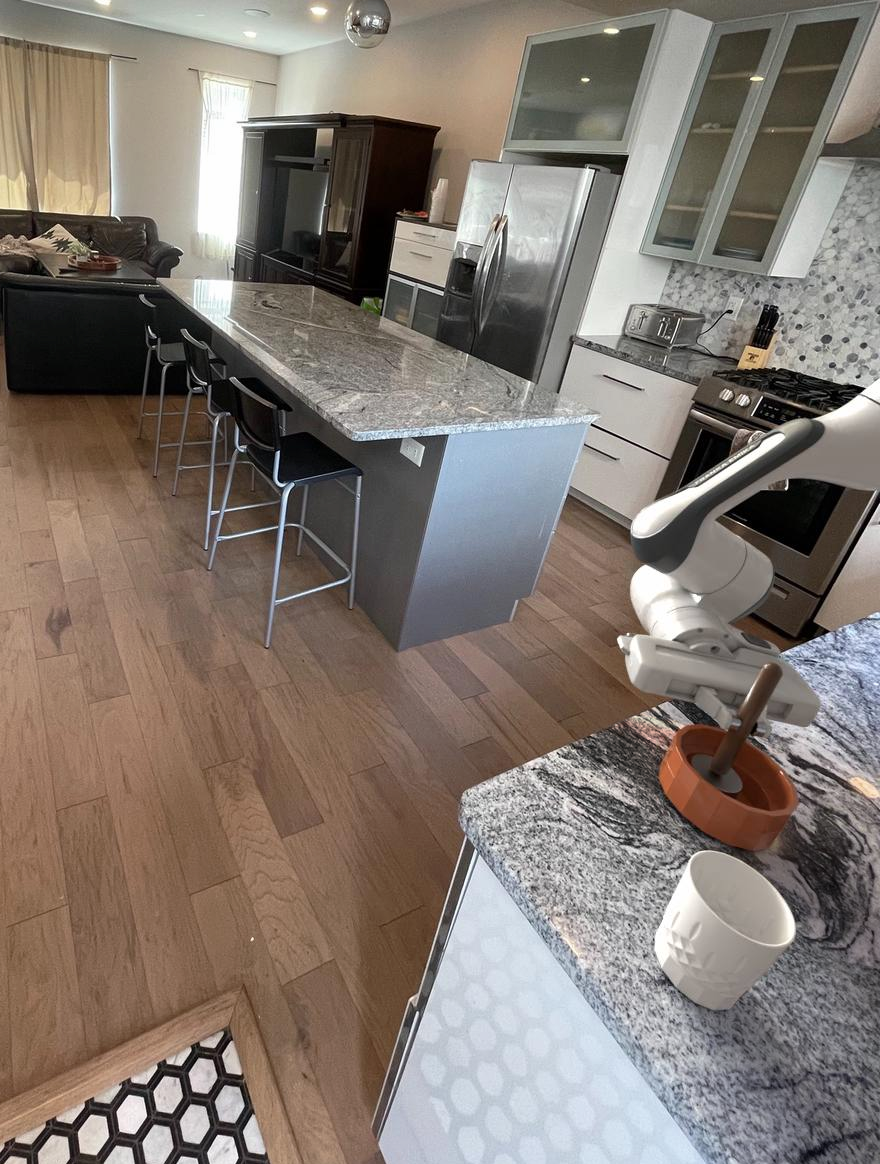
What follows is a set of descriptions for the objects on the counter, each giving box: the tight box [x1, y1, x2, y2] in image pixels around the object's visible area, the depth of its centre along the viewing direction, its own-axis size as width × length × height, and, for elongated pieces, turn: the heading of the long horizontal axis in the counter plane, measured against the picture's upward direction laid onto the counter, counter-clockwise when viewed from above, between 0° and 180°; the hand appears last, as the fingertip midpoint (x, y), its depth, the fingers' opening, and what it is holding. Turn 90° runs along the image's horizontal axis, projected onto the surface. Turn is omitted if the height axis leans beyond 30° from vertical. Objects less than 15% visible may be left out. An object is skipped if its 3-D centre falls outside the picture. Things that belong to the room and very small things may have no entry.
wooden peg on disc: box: [689, 662, 783, 800], centre depth 69 cm, size 5×5×18 cm
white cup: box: [654, 850, 797, 1011], centre depth 54 cm, size 8×8×10 cm
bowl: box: [658, 723, 800, 852], centre depth 72 cm, size 12×12×6 cm
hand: (747, 729), depth 68 cm, fingers closed on wooden peg on disc
